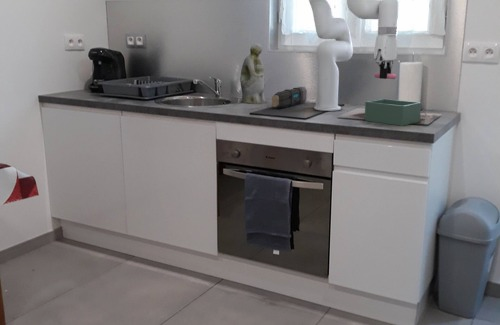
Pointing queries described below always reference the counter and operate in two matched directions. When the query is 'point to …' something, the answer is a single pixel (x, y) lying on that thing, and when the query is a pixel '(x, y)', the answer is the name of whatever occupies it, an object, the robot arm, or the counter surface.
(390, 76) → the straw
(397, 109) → the bin
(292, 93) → the dark brown log
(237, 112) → the counter surface
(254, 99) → the sculpture
